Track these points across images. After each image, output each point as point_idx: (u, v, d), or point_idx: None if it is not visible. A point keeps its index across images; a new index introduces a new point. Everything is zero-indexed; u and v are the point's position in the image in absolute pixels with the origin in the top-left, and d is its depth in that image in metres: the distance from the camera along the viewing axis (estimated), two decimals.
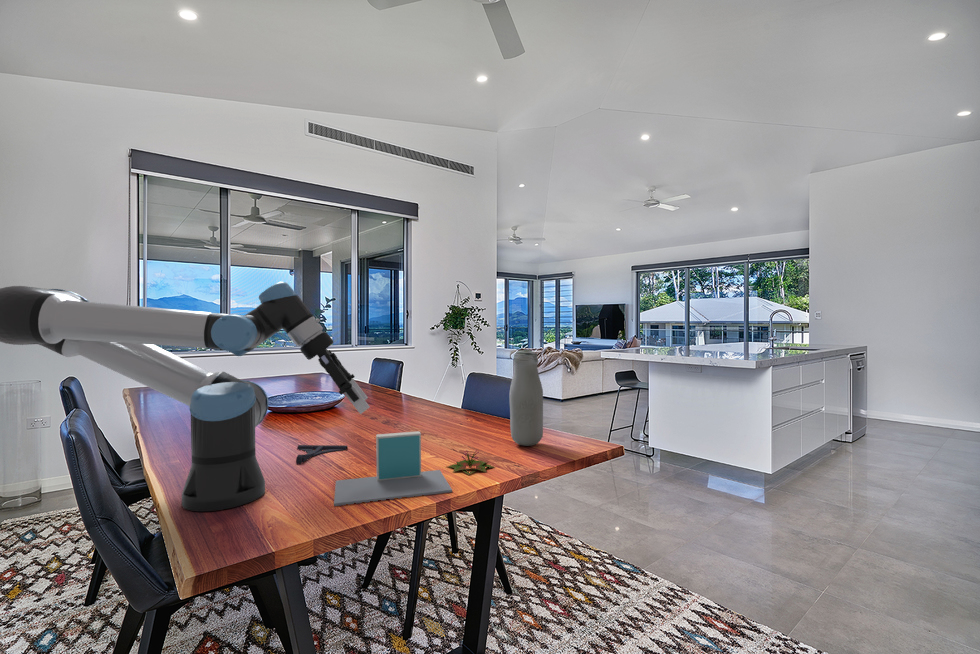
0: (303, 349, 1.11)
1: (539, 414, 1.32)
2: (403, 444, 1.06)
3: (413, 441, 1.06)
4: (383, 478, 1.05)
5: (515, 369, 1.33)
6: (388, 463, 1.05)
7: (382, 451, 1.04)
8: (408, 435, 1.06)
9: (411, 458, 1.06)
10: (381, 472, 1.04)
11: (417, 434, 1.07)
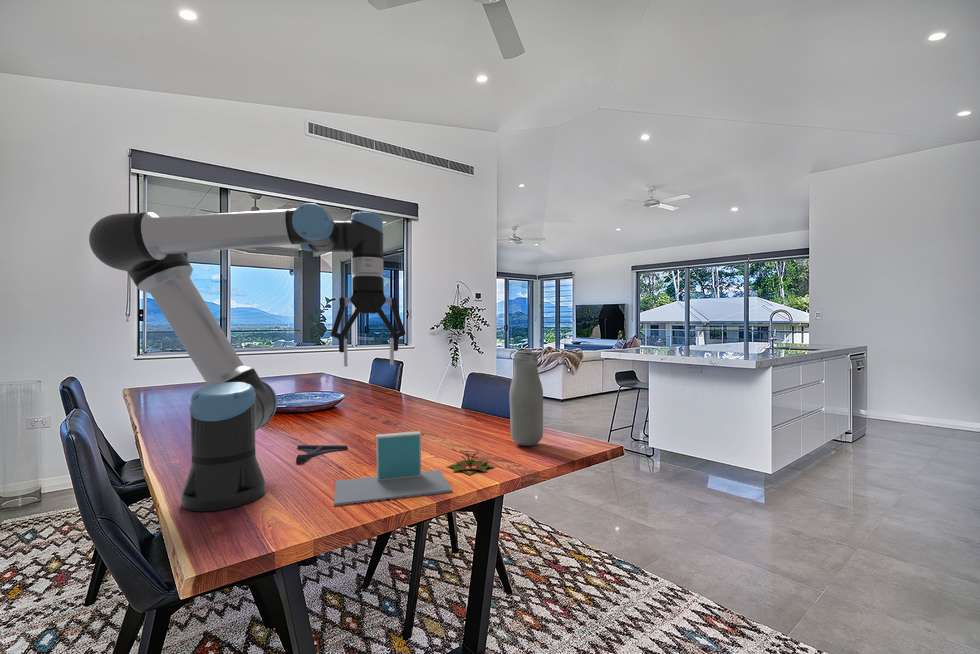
0: None
1: (539, 414, 1.32)
2: (403, 444, 1.06)
3: (413, 441, 1.06)
4: (383, 478, 1.05)
5: (515, 369, 1.33)
6: (388, 463, 1.05)
7: (382, 451, 1.04)
8: (408, 435, 1.06)
9: (411, 458, 1.06)
10: (381, 472, 1.04)
11: (417, 434, 1.07)
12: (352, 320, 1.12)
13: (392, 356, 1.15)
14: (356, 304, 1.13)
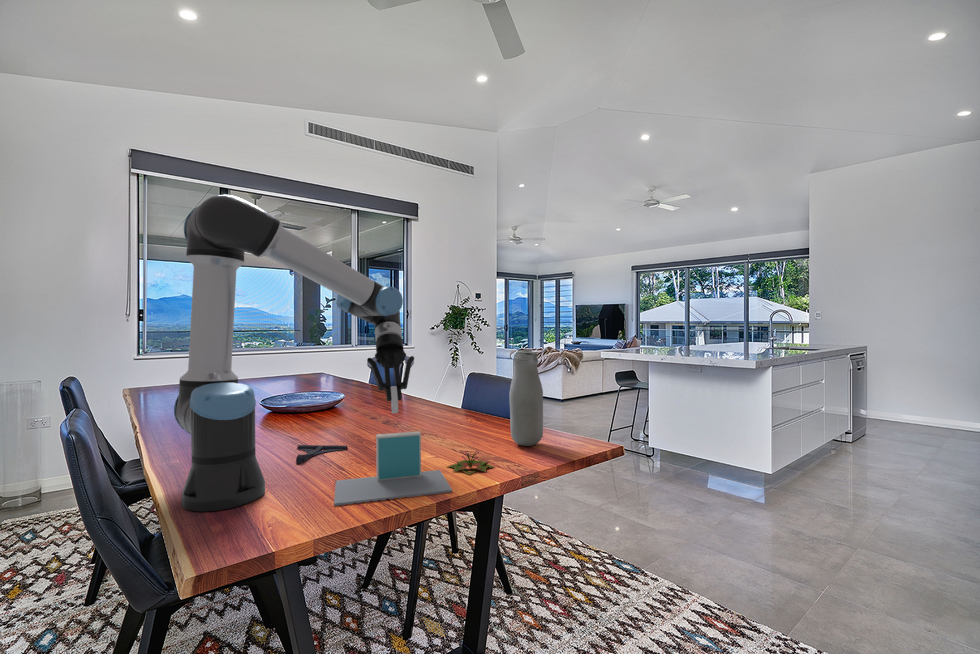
0: None
1: (539, 414, 1.32)
2: (403, 444, 1.06)
3: (413, 441, 1.06)
4: (383, 478, 1.05)
5: (515, 369, 1.33)
6: (388, 463, 1.05)
7: (382, 451, 1.04)
8: (408, 435, 1.06)
9: (411, 458, 1.06)
10: (381, 472, 1.04)
11: (417, 434, 1.07)
12: (387, 370, 1.23)
13: (396, 400, 1.17)
14: (380, 357, 1.25)
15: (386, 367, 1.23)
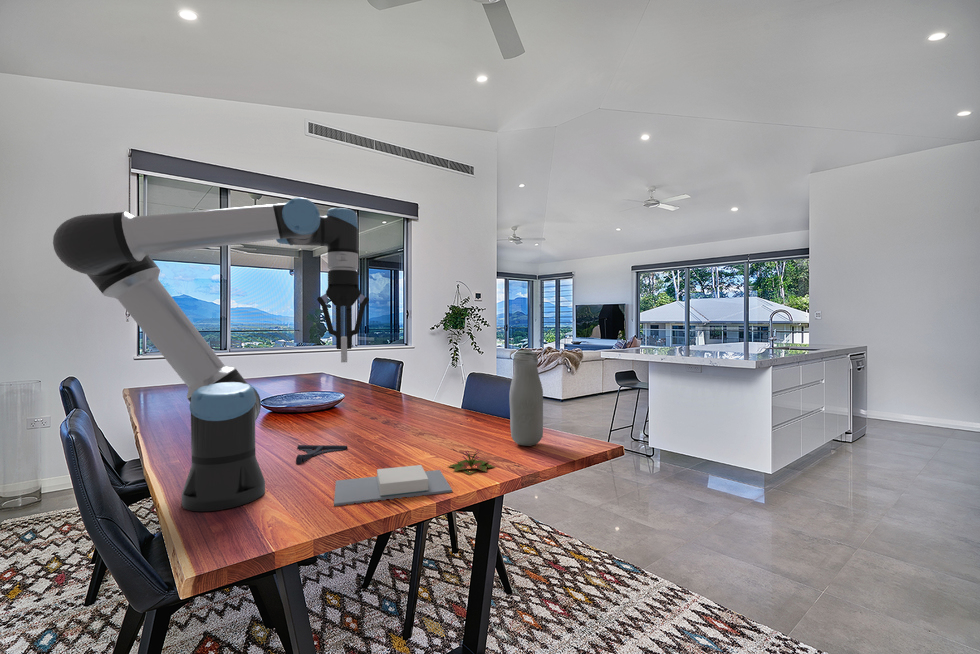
0: None
1: (539, 414, 1.32)
2: None
3: None
4: None
5: (515, 369, 1.33)
6: None
7: None
8: (414, 491, 0.97)
9: None
10: None
11: (424, 489, 0.98)
12: (339, 315, 1.17)
13: (345, 354, 1.17)
14: (331, 297, 1.17)
15: (337, 311, 1.17)
